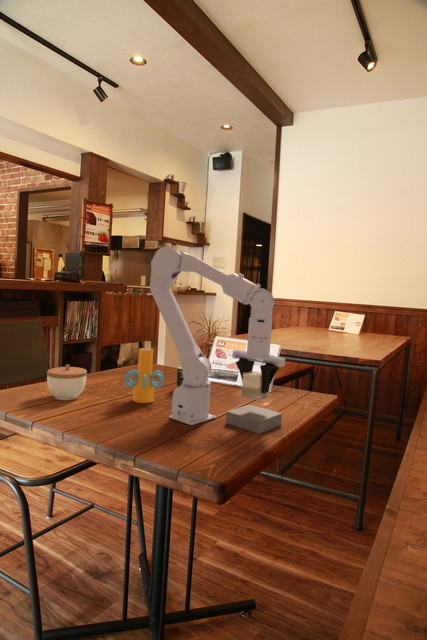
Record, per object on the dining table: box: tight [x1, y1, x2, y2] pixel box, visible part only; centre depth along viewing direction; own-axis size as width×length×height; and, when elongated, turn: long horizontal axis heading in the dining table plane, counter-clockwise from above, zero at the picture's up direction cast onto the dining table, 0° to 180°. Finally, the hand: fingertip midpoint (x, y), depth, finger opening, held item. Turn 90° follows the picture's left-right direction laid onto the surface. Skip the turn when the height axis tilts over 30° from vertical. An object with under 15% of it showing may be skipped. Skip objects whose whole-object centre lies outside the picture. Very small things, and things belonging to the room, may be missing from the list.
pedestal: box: [225, 404, 283, 435], centre depth 105 cm, size 10×10×3 cm
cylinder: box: [123, 347, 165, 404], centre depth 120 cm, size 12×10×15 cm
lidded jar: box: [46, 364, 88, 401], centre depth 119 cm, size 11×11×9 cm
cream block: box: [241, 370, 271, 402], centre depth 105 cm, size 5×5×6 cm
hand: (255, 390), depth 105 cm, fingers closed on cream block, 5 cm apart
